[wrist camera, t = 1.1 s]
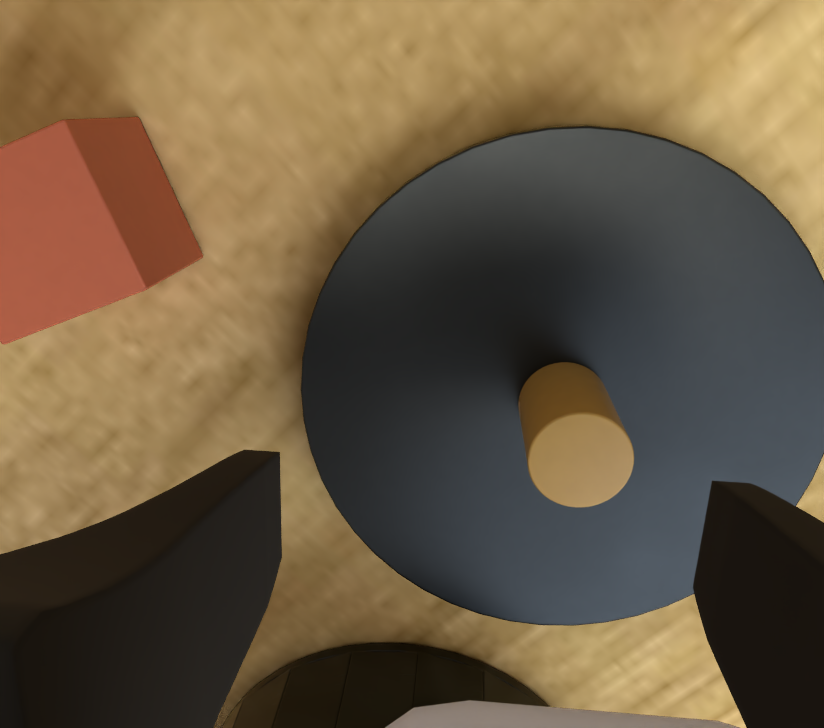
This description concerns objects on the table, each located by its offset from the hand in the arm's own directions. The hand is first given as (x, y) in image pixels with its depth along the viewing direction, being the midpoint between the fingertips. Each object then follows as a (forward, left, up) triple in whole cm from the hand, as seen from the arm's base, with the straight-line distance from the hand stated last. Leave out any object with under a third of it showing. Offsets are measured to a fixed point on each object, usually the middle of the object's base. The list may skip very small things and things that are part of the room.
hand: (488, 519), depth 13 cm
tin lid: (+2, -2, -9) cm, 9 cm away
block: (-8, +7, -9) cm, 14 cm away
